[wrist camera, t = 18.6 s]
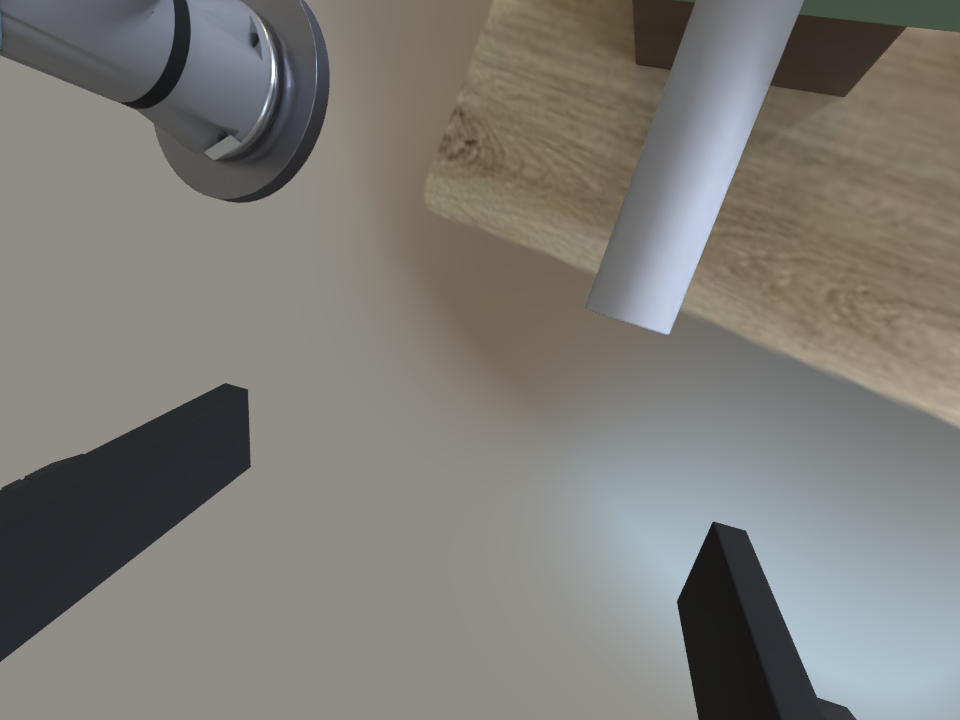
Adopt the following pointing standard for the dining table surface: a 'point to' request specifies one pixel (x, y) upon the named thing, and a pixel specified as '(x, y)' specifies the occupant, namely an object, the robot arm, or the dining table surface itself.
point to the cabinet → (805, 60)
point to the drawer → (710, 142)
